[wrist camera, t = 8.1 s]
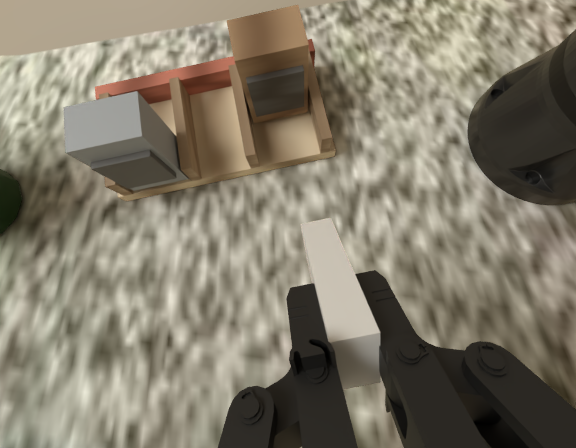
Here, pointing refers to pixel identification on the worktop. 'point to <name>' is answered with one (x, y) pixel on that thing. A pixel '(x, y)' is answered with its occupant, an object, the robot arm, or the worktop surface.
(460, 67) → the worktop surface
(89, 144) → the grey block
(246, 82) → the brown box
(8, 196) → the bottle
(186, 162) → the wooden compartment tray
